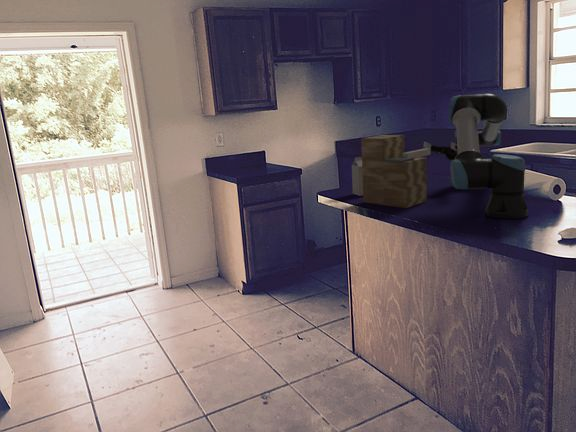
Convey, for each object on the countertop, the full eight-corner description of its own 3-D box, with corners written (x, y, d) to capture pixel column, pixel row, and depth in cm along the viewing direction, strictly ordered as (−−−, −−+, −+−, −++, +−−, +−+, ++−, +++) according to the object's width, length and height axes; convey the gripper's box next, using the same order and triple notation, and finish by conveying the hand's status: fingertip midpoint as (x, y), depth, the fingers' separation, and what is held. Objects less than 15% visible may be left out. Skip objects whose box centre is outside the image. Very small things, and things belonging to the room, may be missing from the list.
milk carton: (371, 194, 252) (370, 157, 247) (359, 196, 249) (358, 158, 245) (364, 192, 258) (363, 155, 254) (352, 194, 256) (351, 157, 251)
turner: (402, 162, 213) (401, 156, 212) (383, 161, 220) (383, 155, 220) (437, 154, 230) (437, 148, 229) (418, 154, 238) (418, 148, 237)
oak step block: (384, 196, 245) (383, 134, 238) (426, 201, 228) (426, 135, 221) (363, 202, 235) (361, 138, 228) (405, 208, 217) (404, 139, 211)
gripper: (478, 162, 242) (462, 153, 226) (430, 160, 258) (412, 151, 242) (481, 147, 242) (464, 137, 226) (433, 146, 258) (414, 136, 242)
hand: (437, 144), depth 234 cm, fingers open, 13 cm apart
